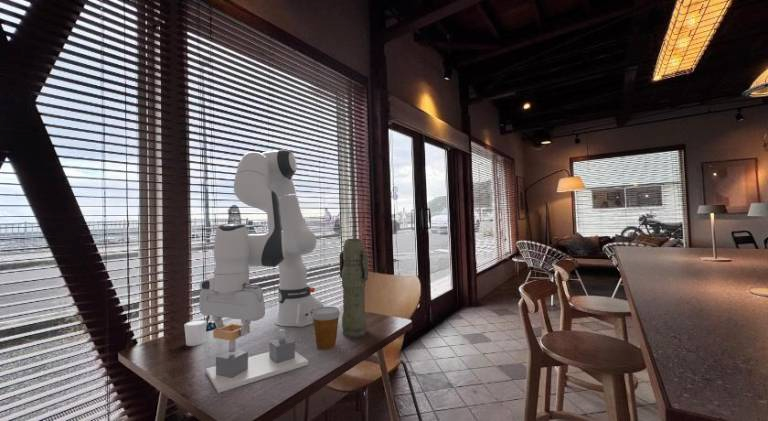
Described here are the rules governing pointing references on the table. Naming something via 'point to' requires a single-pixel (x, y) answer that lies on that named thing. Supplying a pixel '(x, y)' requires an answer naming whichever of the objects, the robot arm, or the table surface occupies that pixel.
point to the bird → (210, 324)
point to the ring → (228, 332)
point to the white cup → (195, 332)
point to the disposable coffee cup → (325, 326)
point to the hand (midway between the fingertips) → (231, 333)
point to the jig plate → (254, 364)
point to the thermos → (353, 287)
